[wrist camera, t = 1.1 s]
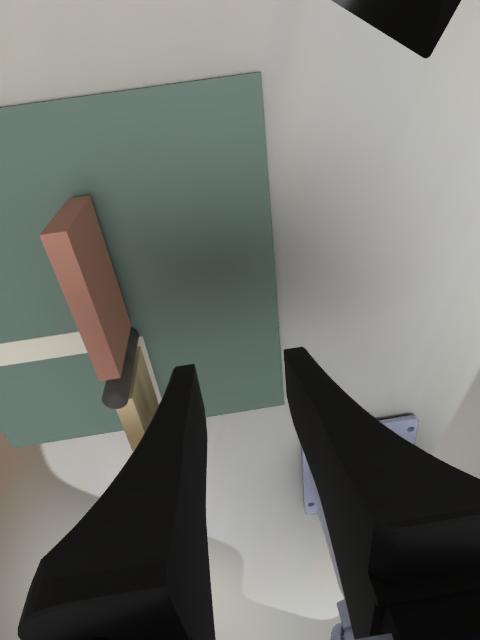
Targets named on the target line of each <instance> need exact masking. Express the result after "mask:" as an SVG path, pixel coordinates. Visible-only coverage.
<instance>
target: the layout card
mask: <svg viewBox="0 0 480 640" xmlns="http://www.w3.org/2000/svg"><path fill="white" fill-rule="evenodd" d="M83 196H90V197H91V201H92V204H93V207H94V210H95V213H96V216H97V219H98V222H99V226H100V229H101V232H102V235H103V238H104V241H105V244H106V248H107V251H108V254H109V257H110V260H111V263H112V266H113V269H114V273H115V276H116V279H117V282H118V285H119V288H120V291H121V294H122V298H123V301H124V304H125V307H126V310H127V313H128V316H129V320H130V323H131V327H133V328H135V329H136V330H137V331H138V333H139V339H138V345H137V347H139V346H141V350H142V353H143V356H144V359H145V362H146V365H147V369H148V372H149V375H150V378H151V381H152V385H153V388H154V391H155V394H156V397H157V400H158V404H160V402H161V400H162V397H163V395H164V393H165V390H166V388H167V385H168V383H169V380H170V377H171V374H172V371H173V369H174V368H175V367H176V366H182V365H189V364H195V368H196V372H197V377H198V381H199V385H200V390H201V394H202V399H203V403H204V407H205V417H210V416H216V415H223V414H229V413H235V412H241V411H248V410H254V409H260V408H266V407H273V406H279V405H284V392H283V378H282V364H281V350H280V336H279V322H278V307H277V293H276V279H275V265H274V251H273V237H272V222H271V208H270V194H269V180H268V166H267V152H266V137H265V123H264V109H263V95H262V81H261V72H255V73H248V74H240V75H233V76H226V77H218V78H211V79H204V80H196V81H189V82H182V83H175V84H167V85H160V86H153V87H145V88H138V89H131V90H124V91H116V92H109V93H102V94H94V95H87V96H80V97H72V98H65V99H58V100H51V101H43V102H36V103H29V104H21V105H14V106H7V107H0V429H1V430H2V432H3V433H4V435H5V436H6V438H7V439H8V441H9V442H10V444H11V445H12V447H13V448H16V447H22V446H28V445H35V444H41V443H47V442H54V441H60V440H66V439H72V438H79V437H85V436H91V435H97V434H104V433H110V432H116V431H122V430H124V428H123V426H122V423H121V421H120V418H119V416H118V413H117V411H116V409H111V408H108V407H107V406H105V405H104V404H103V402H102V395H103V391H104V387H105V383H106V380H105V381H99V379H98V377H97V374H96V372H95V369H94V367H93V365H92V362H91V360H90V357H89V355H88V352H87V350H86V348H85V345H84V343H83V340H82V338H81V335H80V333H79V331H78V328H77V326H76V323H75V321H74V318H73V316H72V314H71V311H70V309H69V306H68V304H67V301H66V299H65V297H64V294H63V292H62V289H61V287H60V284H59V282H58V280H57V277H56V275H55V272H54V270H53V267H52V265H51V263H50V260H49V258H48V255H47V253H46V251H45V248H44V246H43V243H42V241H41V238H40V236H39V235H40V234H41V232H42V231H43V230H44V228H45V227H46V226H47V225H48V223H49V222H50V221H51V220H52V218H53V217H54V216H55V215H56V213H57V212H58V211H59V210H60V208H61V207H62V206H63V205H64V203H65V202H66V201H67V199H69V198H76V197H83Z"/></svg>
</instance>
